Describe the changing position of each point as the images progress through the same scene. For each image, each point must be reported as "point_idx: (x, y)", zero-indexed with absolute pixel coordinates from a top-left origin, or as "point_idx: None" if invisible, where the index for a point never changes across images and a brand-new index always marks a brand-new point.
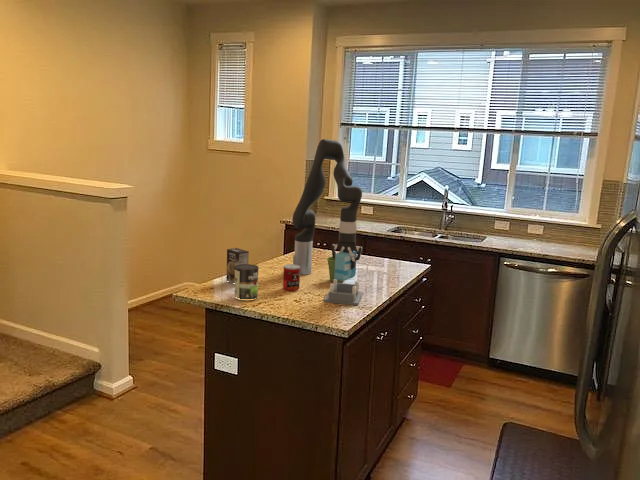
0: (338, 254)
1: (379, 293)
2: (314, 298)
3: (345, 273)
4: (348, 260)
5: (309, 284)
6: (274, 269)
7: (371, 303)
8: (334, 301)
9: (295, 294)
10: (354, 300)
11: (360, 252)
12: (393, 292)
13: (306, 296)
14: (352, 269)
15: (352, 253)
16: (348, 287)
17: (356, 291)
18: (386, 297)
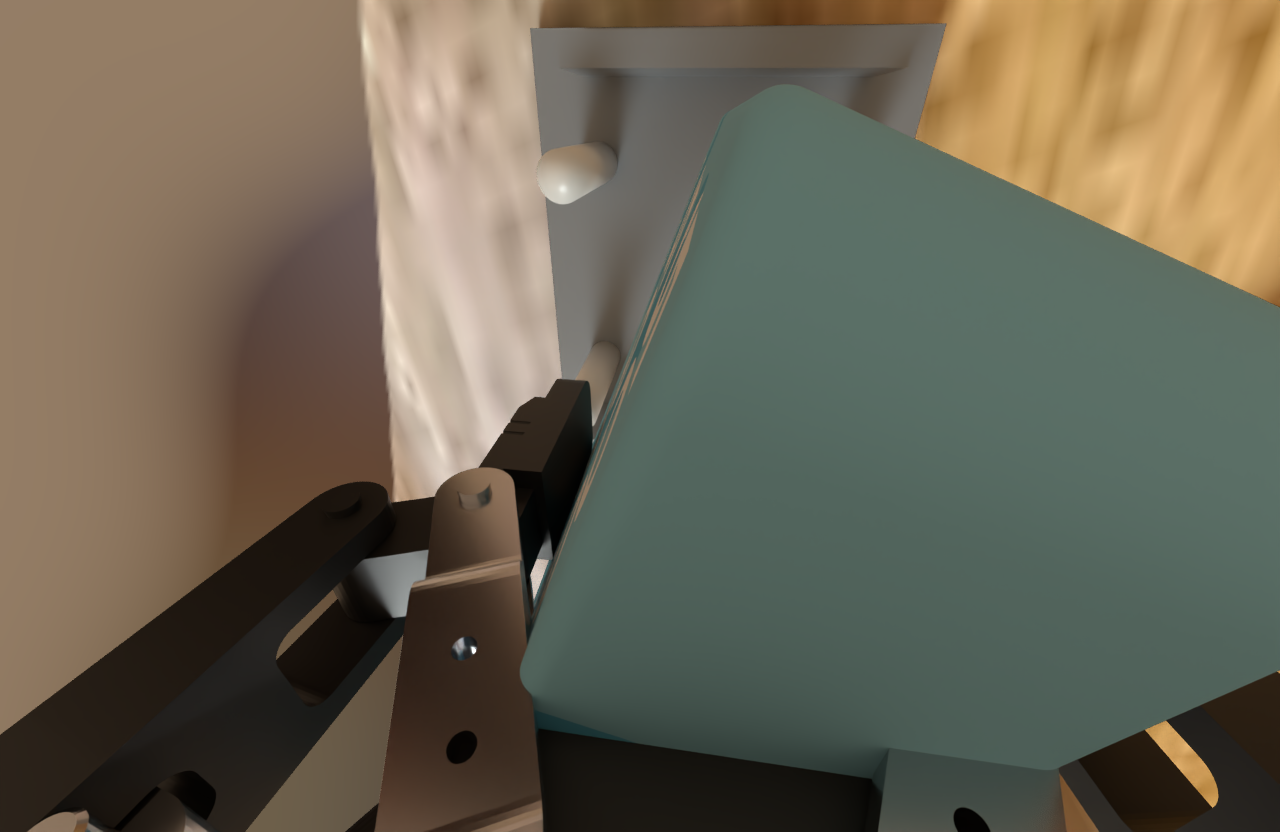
0: (1267, 433)
1: (469, 461)
2: (1031, 150)
3: (685, 211)
4: (606, 430)
5: None
6: (1191, 768)
7: (440, 176)
8: (804, 26)
9: (1244, 240)
10: (585, 138)
11: (36, 713)
12: (399, 498)
13: (1118, 201)
14: (569, 383)
15: (404, 674)
16: None
17: (597, 354)
18: (396, 386)
